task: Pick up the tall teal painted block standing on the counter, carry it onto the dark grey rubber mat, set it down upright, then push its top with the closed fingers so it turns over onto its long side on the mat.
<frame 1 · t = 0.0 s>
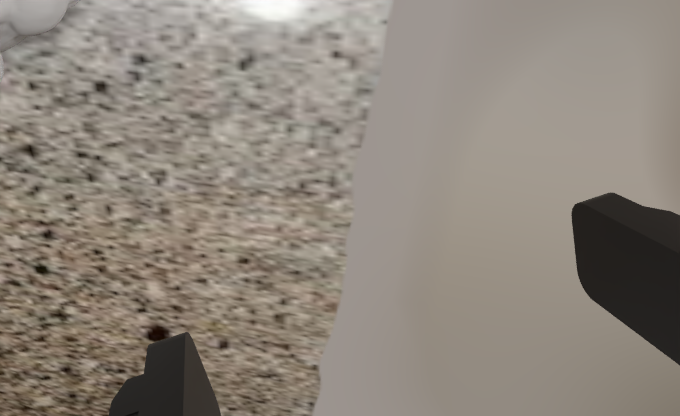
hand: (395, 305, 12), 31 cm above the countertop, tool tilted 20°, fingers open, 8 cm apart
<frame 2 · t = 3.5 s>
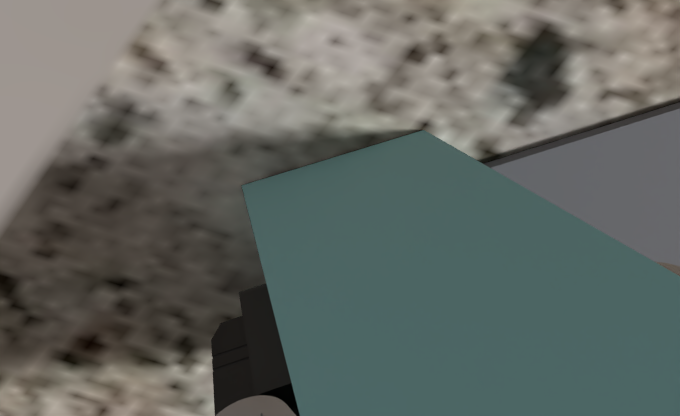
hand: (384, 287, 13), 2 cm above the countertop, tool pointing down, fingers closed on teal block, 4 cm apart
teal block: (356, 241, 15), on the countertop, touching gripper
rubber mat: (663, 386, 19), on the countertop
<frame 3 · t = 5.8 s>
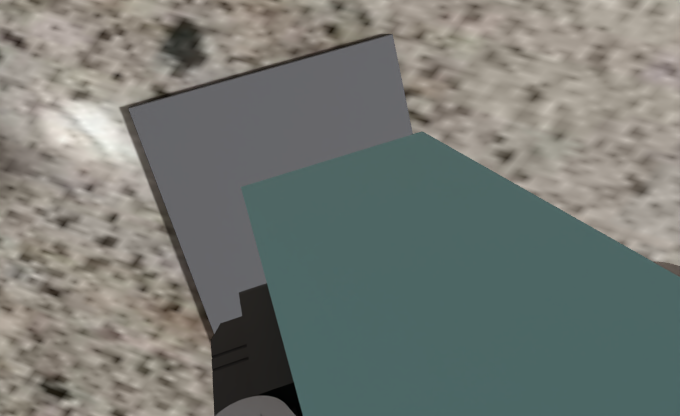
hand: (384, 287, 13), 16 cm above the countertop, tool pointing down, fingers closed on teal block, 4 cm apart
teal block: (355, 242, 15), point 14 cm above the countertop, touching gripper
rubber mat: (314, 247, 30), on the countertop
when the fingers open (3 cm above the countertop, at t = 8.4 s): teal block stays where it is, resting on rubber mat.
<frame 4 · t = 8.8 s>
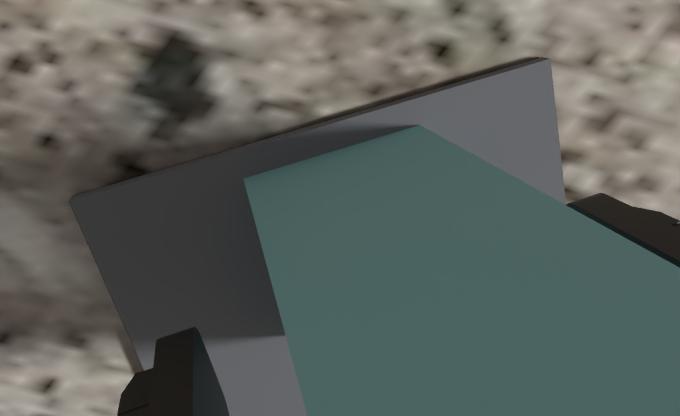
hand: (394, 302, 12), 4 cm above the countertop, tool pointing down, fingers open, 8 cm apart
teal block: (354, 233, 15), resting on rubber mat
rubber mat: (394, 409, 18), on the countertop
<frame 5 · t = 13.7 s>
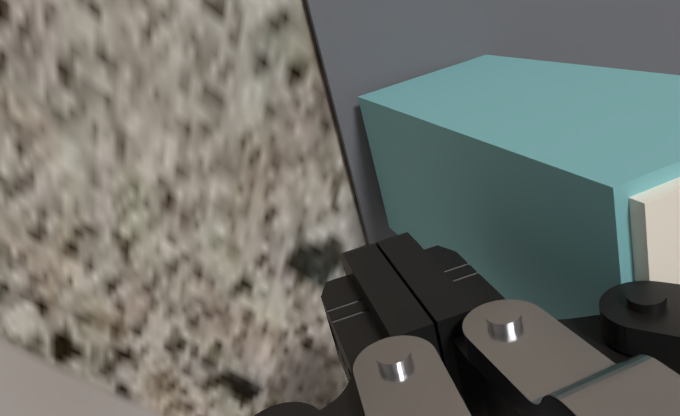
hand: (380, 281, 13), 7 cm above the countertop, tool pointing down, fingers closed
teal block: (436, 142, 19), point 1 cm above the countertop, tilted 5°, touching gripper, rubber mat
rubber mat: (592, 90, 21), on the countertop
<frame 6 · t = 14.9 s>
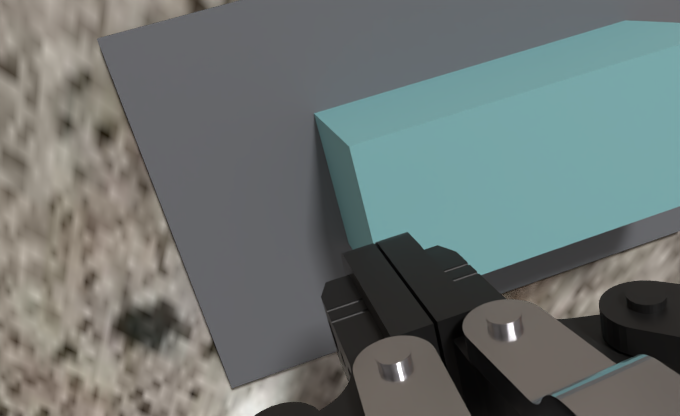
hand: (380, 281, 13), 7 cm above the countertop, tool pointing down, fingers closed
teal block: (348, 203, 17), point 3 cm above the countertop, tilted 90°, touching rubber mat
rubber mat: (438, 146, 20), on the countertop
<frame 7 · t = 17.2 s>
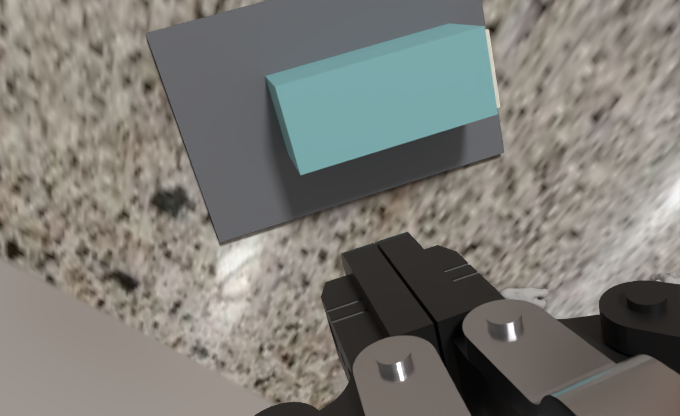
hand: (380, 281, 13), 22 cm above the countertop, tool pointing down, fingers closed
teal block: (282, 123, 31), point 3 cm above the countertop, tilted 90°, touching rubber mat
figurine: (497, 320, 41), on the countertop
rubber mat: (340, 97, 34), on the countertop
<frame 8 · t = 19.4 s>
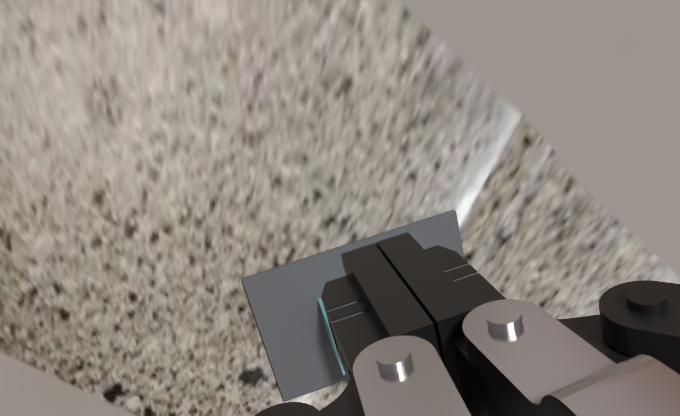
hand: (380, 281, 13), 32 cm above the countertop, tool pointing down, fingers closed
rubber mat: (366, 306, 50), on the countertop
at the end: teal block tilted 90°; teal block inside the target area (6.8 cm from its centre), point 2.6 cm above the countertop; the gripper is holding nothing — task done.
